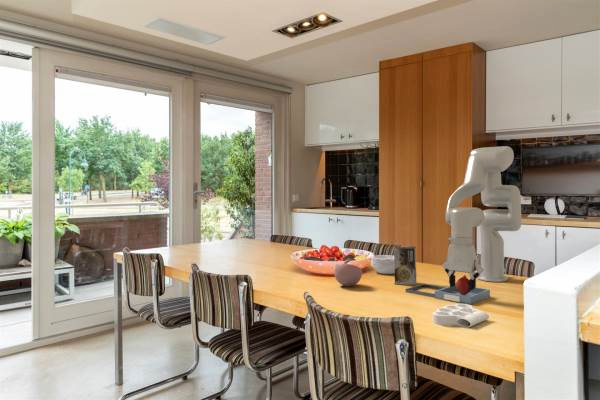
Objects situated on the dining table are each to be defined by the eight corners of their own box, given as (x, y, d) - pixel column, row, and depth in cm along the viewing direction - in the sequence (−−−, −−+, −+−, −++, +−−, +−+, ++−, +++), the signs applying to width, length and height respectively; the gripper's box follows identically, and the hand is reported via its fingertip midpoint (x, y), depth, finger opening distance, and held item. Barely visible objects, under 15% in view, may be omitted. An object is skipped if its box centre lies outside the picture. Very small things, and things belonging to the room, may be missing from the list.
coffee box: (416, 282, 196) (416, 246, 195) (415, 285, 189) (415, 248, 189) (395, 281, 199) (395, 245, 198) (394, 284, 192) (393, 247, 192)
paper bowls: (406, 271, 222) (406, 255, 222) (396, 276, 209) (395, 260, 209) (378, 268, 230) (378, 253, 230) (366, 273, 217) (366, 257, 217)
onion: (452, 293, 170) (454, 272, 169) (466, 293, 170) (468, 273, 170) (458, 297, 164) (460, 276, 164) (473, 298, 165) (475, 277, 164)
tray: (455, 291, 178) (455, 284, 178) (489, 296, 168) (489, 289, 167) (434, 298, 167) (434, 291, 167) (469, 305, 156) (469, 297, 156)
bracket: (423, 286, 187) (423, 283, 187) (451, 291, 178) (451, 288, 178) (405, 291, 178) (405, 289, 178) (434, 297, 168) (433, 294, 168)
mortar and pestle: (365, 284, 194) (365, 258, 193) (357, 290, 183) (357, 262, 183) (340, 282, 199) (339, 257, 198) (330, 287, 188) (330, 261, 188)
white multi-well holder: (465, 332, 129) (421, 321, 140) (493, 319, 140) (451, 310, 151) (465, 321, 128) (421, 311, 139) (493, 309, 140) (451, 301, 151)
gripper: (435, 240, 171) (436, 286, 171) (479, 244, 158) (480, 293, 158) (445, 238, 176) (446, 282, 176) (489, 242, 163) (489, 289, 163)
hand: (462, 287), depth 167 cm, fingers open, 7 cm apart
